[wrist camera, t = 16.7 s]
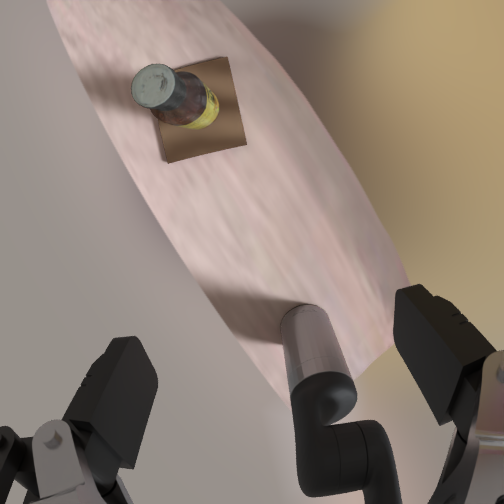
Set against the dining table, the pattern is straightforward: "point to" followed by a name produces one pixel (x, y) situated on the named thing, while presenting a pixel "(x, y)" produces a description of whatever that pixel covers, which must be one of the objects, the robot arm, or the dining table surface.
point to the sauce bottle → (175, 97)
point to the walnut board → (221, 130)
